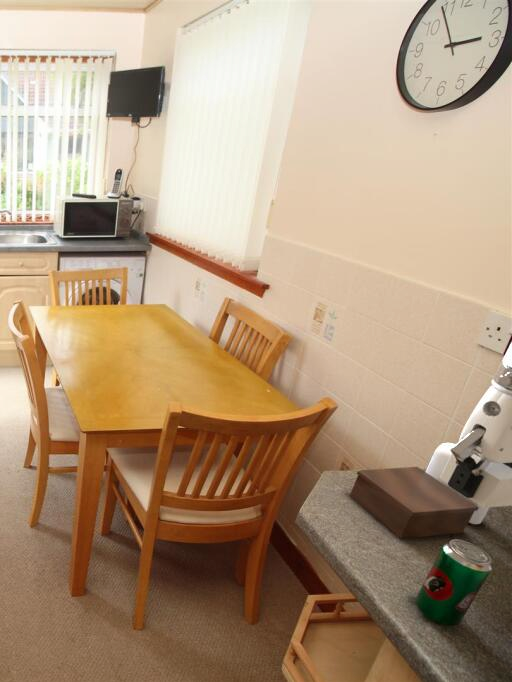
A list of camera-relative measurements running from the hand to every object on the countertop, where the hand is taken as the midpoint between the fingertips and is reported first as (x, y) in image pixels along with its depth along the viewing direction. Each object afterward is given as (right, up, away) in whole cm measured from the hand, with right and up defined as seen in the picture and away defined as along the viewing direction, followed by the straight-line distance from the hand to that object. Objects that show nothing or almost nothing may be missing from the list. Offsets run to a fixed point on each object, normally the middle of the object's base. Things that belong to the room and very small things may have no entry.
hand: (476, 489), depth 71 cm
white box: (0, 0, 0) cm, 0 cm away
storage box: (+5, -10, +18) cm, 21 cm away
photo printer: (+15, -10, +21) cm, 28 cm away
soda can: (-8, -18, -1) cm, 19 cm away
